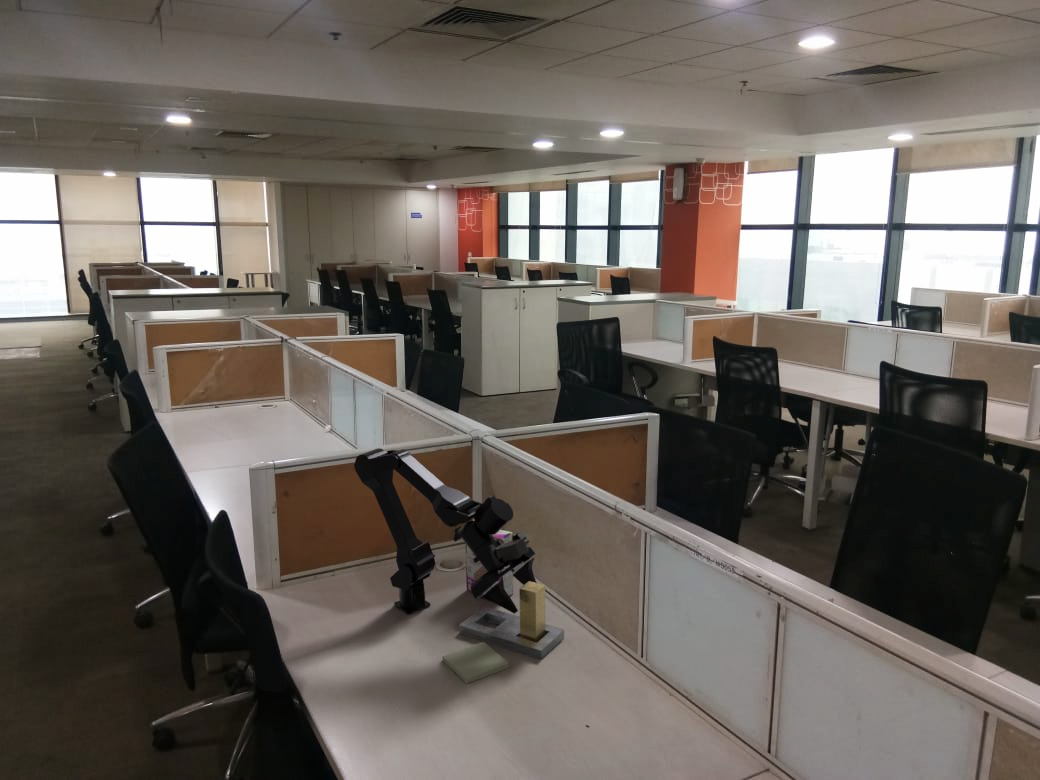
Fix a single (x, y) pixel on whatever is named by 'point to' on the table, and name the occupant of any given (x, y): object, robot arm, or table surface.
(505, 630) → the steel rail plate
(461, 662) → the olive rubber mat
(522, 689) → the table surface
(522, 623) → the brass peg
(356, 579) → the table surface
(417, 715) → the table surface
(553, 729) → the table surface
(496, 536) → the candy bar box
